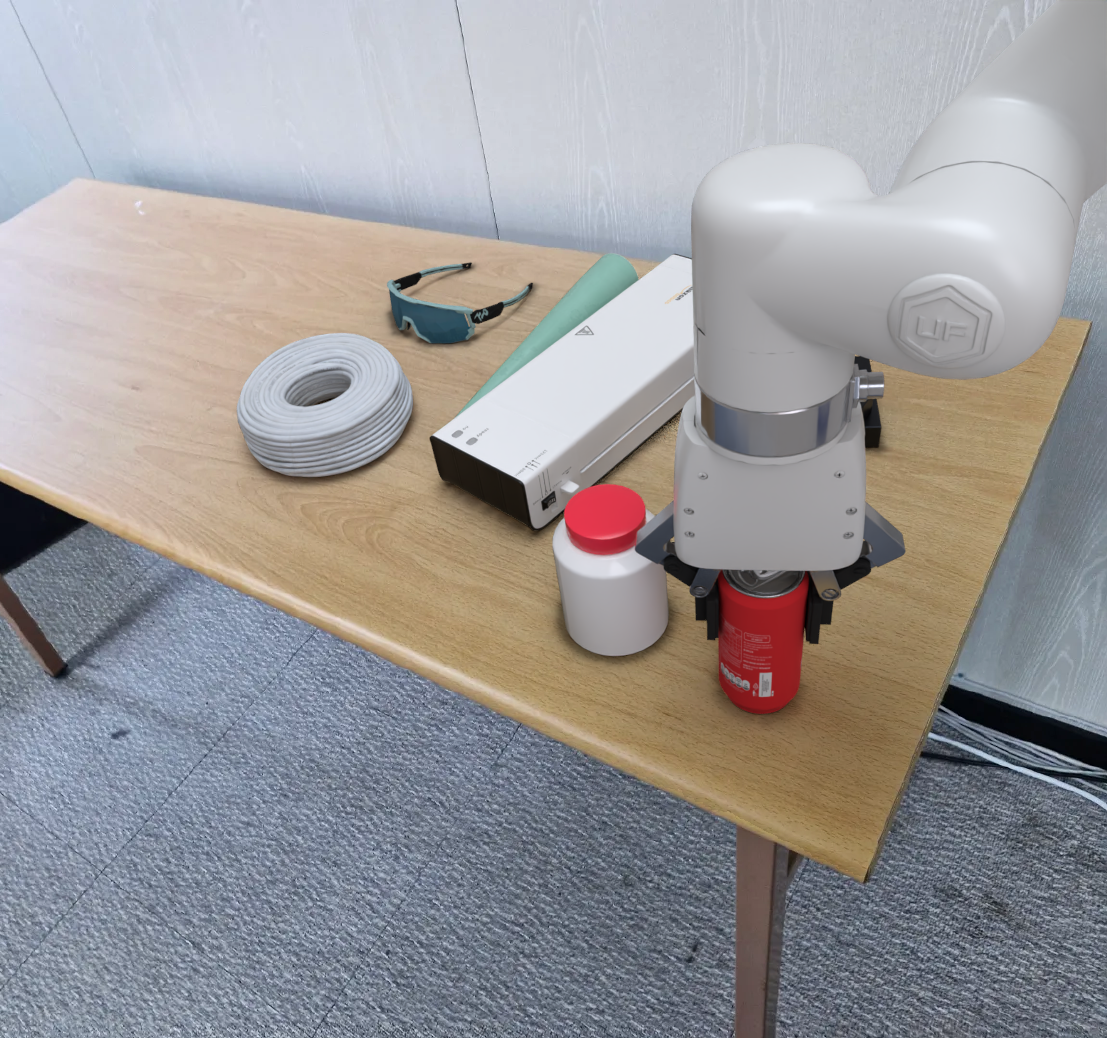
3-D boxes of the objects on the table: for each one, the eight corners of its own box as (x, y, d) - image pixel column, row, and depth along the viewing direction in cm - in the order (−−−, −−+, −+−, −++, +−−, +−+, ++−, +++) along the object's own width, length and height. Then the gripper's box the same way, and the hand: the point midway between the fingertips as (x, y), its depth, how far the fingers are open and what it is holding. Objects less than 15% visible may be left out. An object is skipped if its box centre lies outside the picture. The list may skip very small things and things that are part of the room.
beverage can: (704, 674, 68) (701, 555, 60) (771, 647, 69) (777, 526, 61) (744, 730, 64) (747, 611, 56) (815, 701, 65) (828, 580, 57)
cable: (309, 366, 108) (293, 319, 104) (447, 385, 100) (435, 336, 96) (217, 467, 98) (196, 420, 94) (362, 498, 90) (345, 447, 86)
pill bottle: (689, 628, 71) (685, 520, 64) (596, 672, 70) (581, 568, 63) (634, 564, 77) (624, 458, 70) (546, 604, 76) (528, 500, 69)
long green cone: (419, 383, 92) (595, 248, 103) (431, 429, 95) (599, 293, 106) (461, 400, 88) (638, 259, 99) (471, 447, 92) (641, 305, 103)
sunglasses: (368, 322, 112) (361, 282, 109) (461, 276, 119) (457, 237, 116) (452, 358, 103) (447, 315, 100) (547, 306, 110) (546, 264, 107)
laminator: (674, 305, 102) (672, 252, 98) (779, 339, 94) (782, 282, 90) (441, 487, 89) (428, 435, 84) (542, 544, 81) (532, 489, 77)
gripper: (945, 346, 50) (901, 584, 62) (607, 362, 55) (628, 578, 67) (970, 440, 45) (917, 679, 57) (596, 447, 50) (620, 665, 62)
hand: (761, 622), depth 62 cm, fingers closed on beverage can, 5 cm apart
